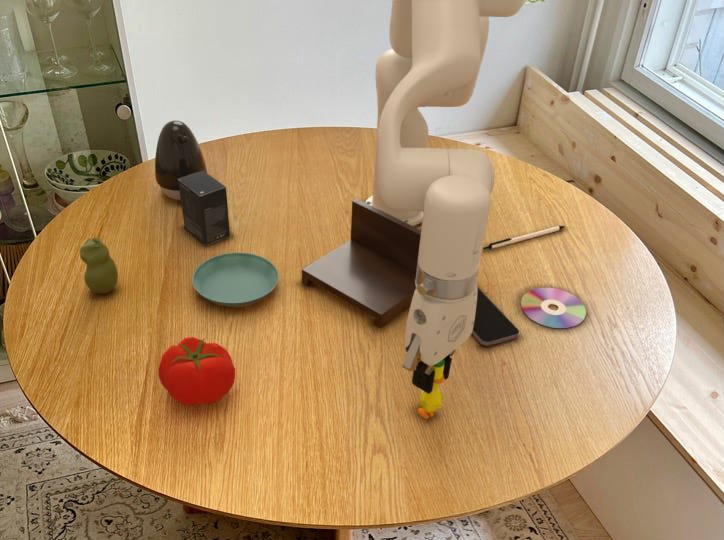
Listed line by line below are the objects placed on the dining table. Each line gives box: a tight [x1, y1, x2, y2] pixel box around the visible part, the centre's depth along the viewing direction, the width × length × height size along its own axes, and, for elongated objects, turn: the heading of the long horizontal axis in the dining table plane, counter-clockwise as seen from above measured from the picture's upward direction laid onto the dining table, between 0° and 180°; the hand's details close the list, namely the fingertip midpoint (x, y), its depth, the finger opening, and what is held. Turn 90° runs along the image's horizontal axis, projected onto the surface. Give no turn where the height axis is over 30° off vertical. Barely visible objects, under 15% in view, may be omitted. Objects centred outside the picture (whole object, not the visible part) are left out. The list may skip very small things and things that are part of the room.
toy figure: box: [417, 357, 446, 420], centre depth 106 cm, size 7×4×12 cm, turn 33°
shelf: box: [301, 198, 421, 330], centre depth 128 cm, size 14×18×11 cm
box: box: [178, 171, 231, 246], centre depth 139 cm, size 8×6×11 cm
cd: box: [520, 287, 587, 329], centre depth 129 cm, size 11×11×1 cm
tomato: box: [158, 336, 236, 408], centre depth 109 cm, size 11×11×9 cm
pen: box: [483, 225, 566, 250], centre depth 144 cm, size 1×19×1 cm, turn 116°
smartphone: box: [471, 286, 520, 347], centre depth 127 cm, size 7×1×15 cm
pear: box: [79, 237, 119, 295], centre depth 125 cm, size 6×5×10 cm
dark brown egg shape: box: [154, 120, 208, 201], centre depth 147 cm, size 10×10×15 cm
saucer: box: [191, 252, 280, 308], centre depth 130 cm, size 15×15×3 cm
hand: (430, 380), depth 106 cm, fingers closed on toy figure, 3 cm apart
